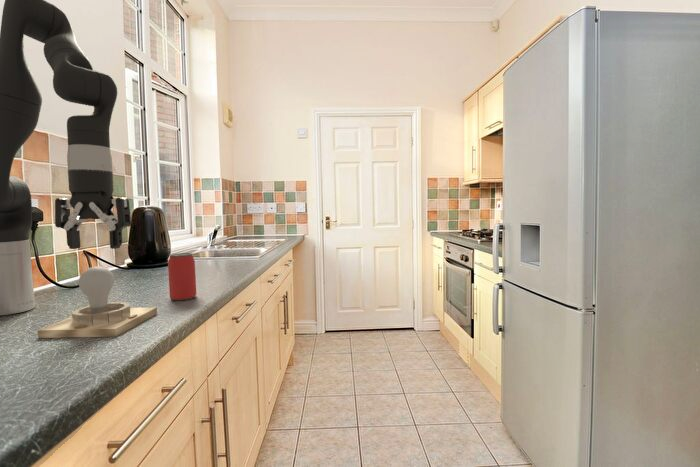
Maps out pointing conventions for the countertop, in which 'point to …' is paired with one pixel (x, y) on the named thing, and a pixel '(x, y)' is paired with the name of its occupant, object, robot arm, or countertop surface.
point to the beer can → (182, 276)
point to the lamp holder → (98, 322)
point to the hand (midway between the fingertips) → (95, 248)
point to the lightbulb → (96, 287)
